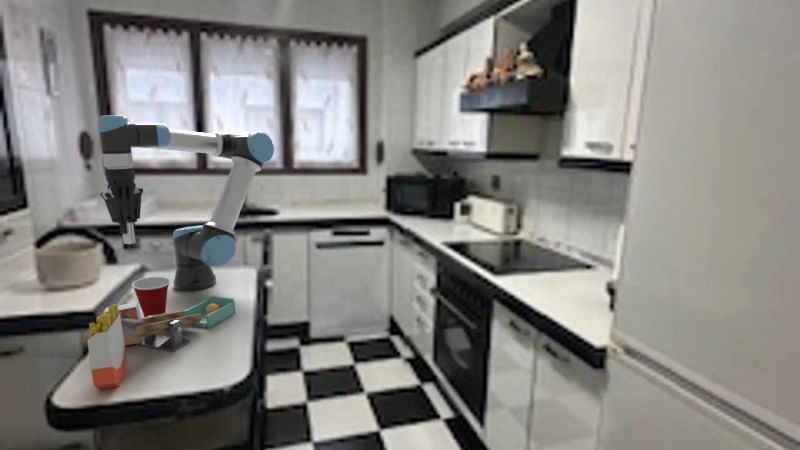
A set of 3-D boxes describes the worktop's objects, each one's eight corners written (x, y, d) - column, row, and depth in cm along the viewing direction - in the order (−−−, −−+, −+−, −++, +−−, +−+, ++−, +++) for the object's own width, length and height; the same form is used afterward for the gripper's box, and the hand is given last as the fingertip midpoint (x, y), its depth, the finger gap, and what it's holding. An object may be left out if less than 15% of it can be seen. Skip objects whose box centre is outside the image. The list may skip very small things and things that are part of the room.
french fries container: (93, 396, 98) (81, 321, 94) (107, 372, 108) (96, 303, 104) (116, 392, 99) (105, 318, 96) (128, 368, 109) (118, 301, 106)
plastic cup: (157, 324, 135) (153, 288, 132) (128, 322, 137) (122, 285, 135) (181, 311, 145) (177, 276, 143) (153, 308, 147) (149, 275, 145)
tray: (210, 309, 146) (209, 295, 145) (235, 313, 143) (234, 298, 142) (182, 324, 135) (181, 308, 134) (209, 328, 132) (207, 312, 131)
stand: (154, 335, 127) (151, 312, 126) (190, 342, 123) (187, 318, 122) (136, 345, 122) (133, 321, 120) (173, 351, 118) (170, 327, 116)
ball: (204, 317, 140) (213, 310, 143) (215, 319, 139) (223, 312, 142) (201, 307, 138) (210, 300, 142) (211, 308, 137) (220, 301, 141)
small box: (109, 349, 119) (101, 313, 117) (112, 342, 124) (105, 307, 122) (143, 342, 122) (136, 306, 120) (144, 335, 127) (138, 300, 125)
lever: (163, 317, 135) (164, 304, 136) (201, 323, 131) (202, 310, 131) (94, 331, 115) (95, 316, 115) (136, 338, 110) (138, 323, 110)
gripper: (129, 166, 140) (138, 237, 144) (88, 169, 127) (100, 247, 132) (147, 166, 137) (156, 239, 142) (108, 169, 125) (119, 249, 130)
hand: (129, 243), depth 137 cm, fingers closed
